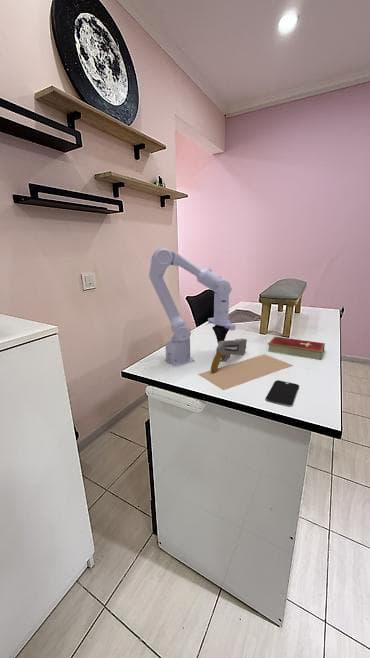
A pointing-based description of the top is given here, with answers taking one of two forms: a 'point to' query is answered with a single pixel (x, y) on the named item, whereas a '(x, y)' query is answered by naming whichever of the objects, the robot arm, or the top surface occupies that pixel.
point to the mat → (244, 371)
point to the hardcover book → (296, 347)
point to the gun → (228, 351)
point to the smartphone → (282, 393)
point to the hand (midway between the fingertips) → (220, 343)
